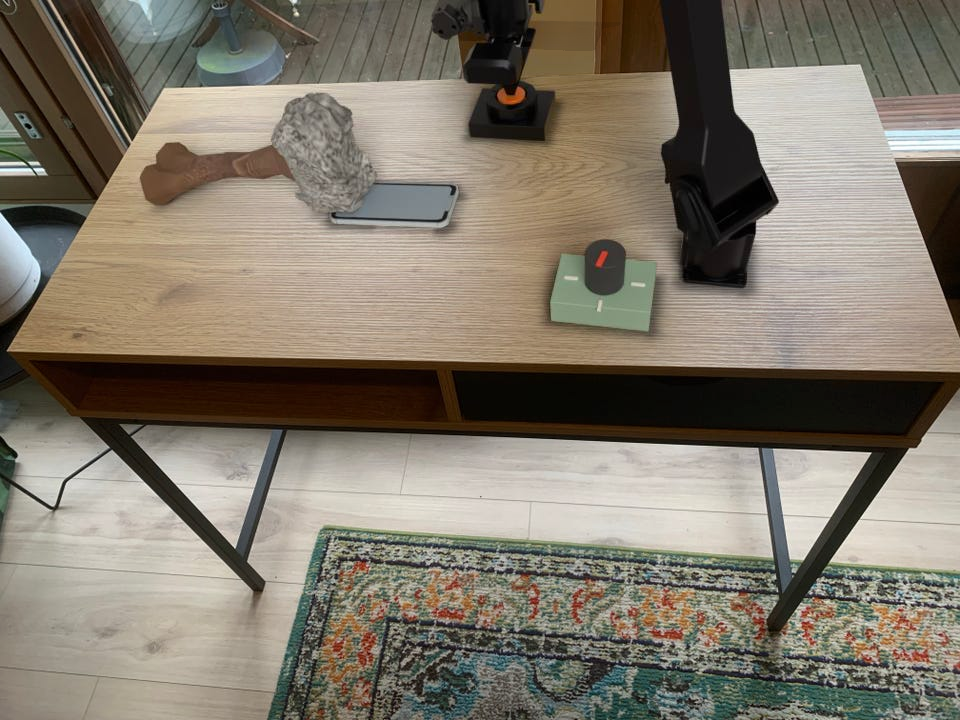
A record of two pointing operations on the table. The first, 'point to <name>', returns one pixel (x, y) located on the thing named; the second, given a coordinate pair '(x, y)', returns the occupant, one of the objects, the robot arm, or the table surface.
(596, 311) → the dial panel
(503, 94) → the button
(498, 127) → the button base
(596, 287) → the dial
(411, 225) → the smartphone
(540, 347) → the table surface
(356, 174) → the hammer
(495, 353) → the table surface
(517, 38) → the robot arm
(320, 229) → the table surface
